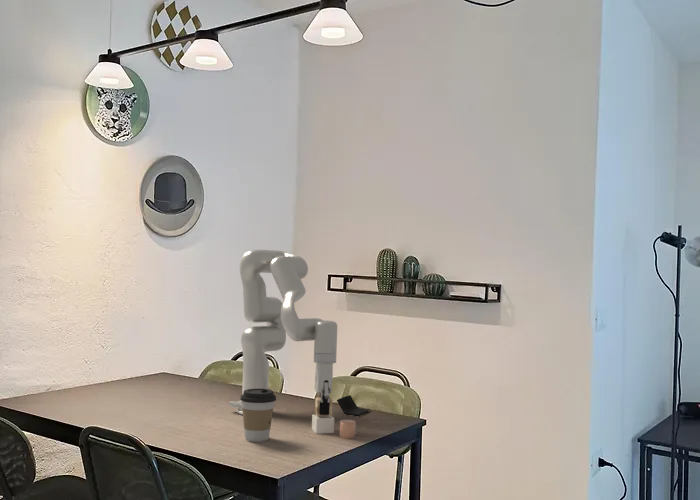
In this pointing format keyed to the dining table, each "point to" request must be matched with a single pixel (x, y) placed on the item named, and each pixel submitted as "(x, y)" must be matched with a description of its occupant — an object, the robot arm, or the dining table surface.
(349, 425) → the terracotta cylinder
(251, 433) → the coffee cup
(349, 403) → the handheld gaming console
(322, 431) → the white block
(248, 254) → the robot arm
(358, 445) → the dining table surface
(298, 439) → the dining table surface
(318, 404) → the maple cube
